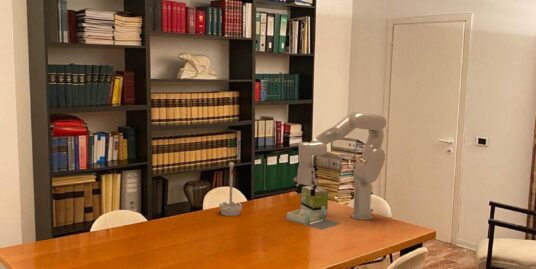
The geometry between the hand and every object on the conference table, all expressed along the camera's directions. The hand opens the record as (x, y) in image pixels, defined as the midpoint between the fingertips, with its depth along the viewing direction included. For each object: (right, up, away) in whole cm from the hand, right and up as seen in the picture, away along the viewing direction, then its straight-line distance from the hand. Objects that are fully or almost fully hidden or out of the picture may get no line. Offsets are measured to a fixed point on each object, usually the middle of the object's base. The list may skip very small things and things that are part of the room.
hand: (306, 194), depth 291 cm
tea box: (+6, -13, +15) cm, 21 cm away
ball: (-1, -13, +1) cm, 14 cm away
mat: (+3, -15, -3) cm, 15 cm away
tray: (-1, -14, +1) cm, 14 cm away
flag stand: (-43, -12, +10) cm, 46 cm away
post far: (+10, -15, +1) cm, 17 cm away
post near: (0, -15, -9) cm, 18 cm away
